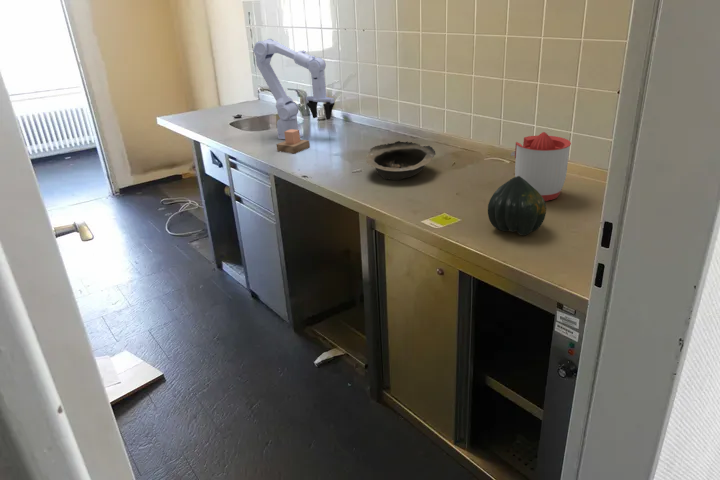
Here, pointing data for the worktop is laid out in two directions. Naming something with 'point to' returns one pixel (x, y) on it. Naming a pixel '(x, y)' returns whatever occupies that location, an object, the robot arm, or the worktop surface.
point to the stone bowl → (399, 159)
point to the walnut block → (293, 146)
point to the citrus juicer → (543, 163)
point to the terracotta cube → (292, 136)
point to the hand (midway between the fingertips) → (321, 118)
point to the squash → (517, 207)
